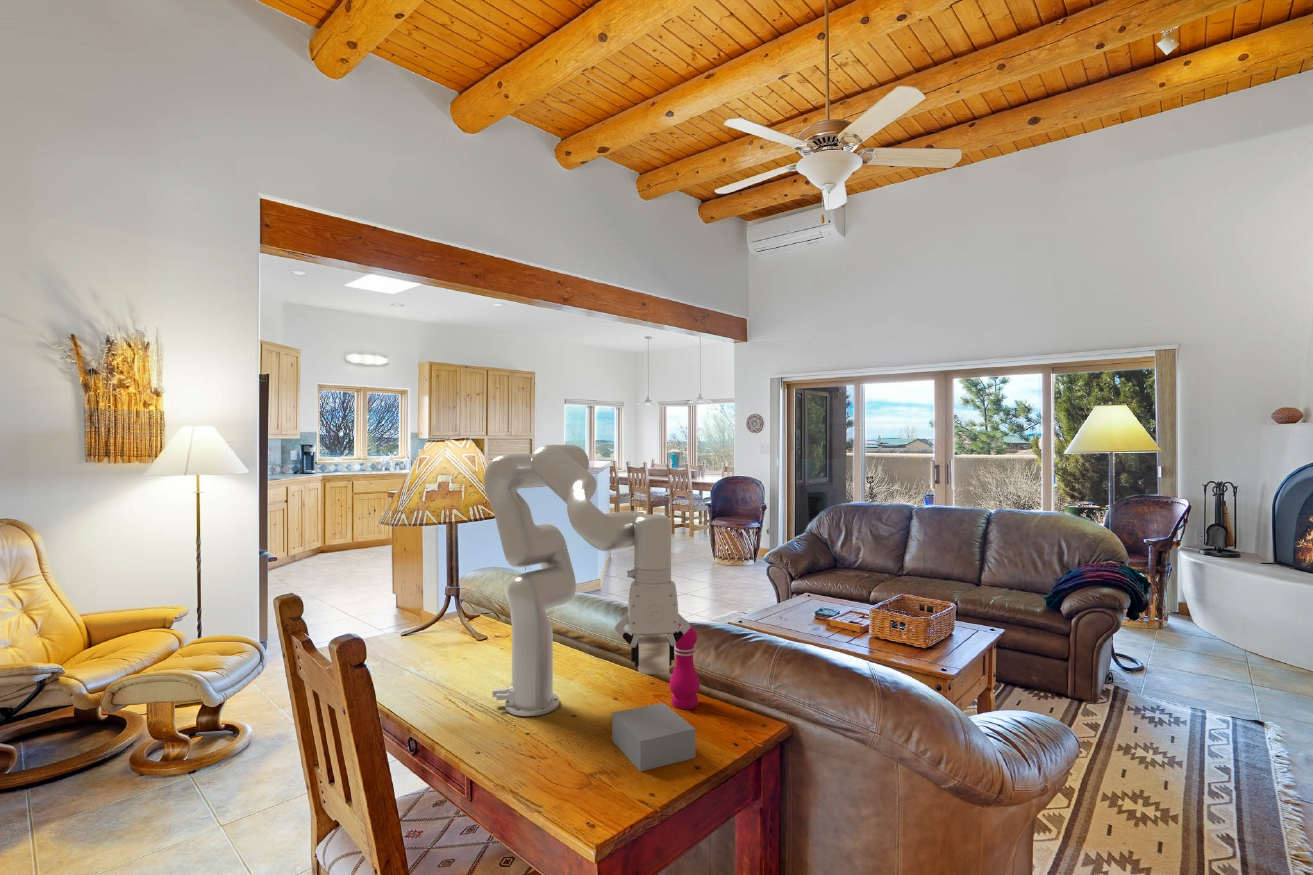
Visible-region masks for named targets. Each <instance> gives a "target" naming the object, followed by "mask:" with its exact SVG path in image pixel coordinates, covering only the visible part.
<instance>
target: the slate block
mask: <svg viewBox="0 0 1313 875" xmlns="http://www.w3.org/2000/svg"><path fill="white" fill-rule="evenodd" d="M611 714H612V715H611V716H612V718H611V720H612V721H611V724H612V726H611V730H612V732H611V733H612V734H611V735H612V736H611V739H612V740H611V741H612V742H613V743H614V745H616V747H617V748H619V750H620V751H621V752H622V753H623V754H624V755H625V757H626V758H627V759H628V760H629V761H630V762H631V763H632V764H633V765H634V766H635V767H636V769H637V770H638V771H639V772H644V771H648V770H652V769H655V768H656V769H657V768H659V767H660V768H661V767H664V766H668V765H673V764H676V763H680V762H683V761H688V760H692V759H695V758H696V728H695V727H694V726H693V725H692V724H691V723H689V722H688V721H687V720H686V719H685V718H683V717H682V716H681V715H679V714H678V713H676V711H675V710H673V708H671V707H670V706H668V705H667V704H666V703H664V702H660V703H655V704H651V705H645V706H640V707H636V708H630V709H625V710H620V711H615V712H612V713H611Z"/></svg>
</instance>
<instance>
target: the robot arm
mask: <svg viewBox="0 0 1313 875" xmlns="http://www.w3.org/2000/svg"><path fill="white" fill-rule="evenodd" d="M589 469H590V459H589V456H588V454H587V453H586V451H585V450H584V449H583V448H582V447H581V446H578V445H575V444H546V445H543V446H541V447H539V448H538V449H536V450H535V451H534V452H533V453H507V454H502V455H499V456H497V457H494V458H493V459H492V460H491V461H490V462H489V463H488V464H487V467H486V469H485V473H484V477H483V480H484V481H483V482H484V483H483V484H484V485H483V486H484V491H485V492H484V493H485V495H486V497H487V500H488V502H489V505H490V507H491V509H492V512H493V514H494V518H495V521H496V522H495V523H496V527H497V530H498V534H499V539H500V542H501V547H502V550H503V554H504V558H505V560H506V563H508V565H509V566H511V567H512V568H527V567H530V566H536V565H540V566H541V569H540V568H539V569H535V570H531V571H530V570H529V571H525V572H524V573H521V574H518V575H517V576H515V577H513V579H511V582H510V583H509V584H508V588H507V595H506V596H507V602H508V606H509V607H508V608H509V611H510V620H511V685H510V686H506V688H493V689H492V698H496V701H503V700H504V701H505V702H504V709H505V710H506V712H507V713H509V714H512V715H514V716H519V717H535V716H541V715H545V714H549V713H551V712H553V711H554V710H556V709H557V708H558V707H559V705H560V697H559V696H558V695H557V694H556V693H554V690H553V689H554V688H553V686H554V685H553V684H554V682H553V678H554V677H553V676H554V675H553V674H554V673H553V671H554V669H553V666H554V663H553V662H554V660H553V658H554V656H553V654H554V652H553V650H554V649H553V648H554V647H553V646H554V642H553V641H554V638H553V636H554V634H553V632H554V631H553V626H552V623H551V621H550V619H549V617H548V616H547V612H546V611H547V610H549V609H551V608H555V607H559V606H561V605H565V604H567V603H569V602H570V601H571V600H573V598H574V597H575V594H576V592H577V582H576V581H577V580H576V576H575V572H574V568H573V567H574V566H573V565H572V561H571V557H570V553H569V549H568V545H567V543H566V539H565V536H564V535H563V533H562V532H561V530H560V529H559V528H558V527H556V526H555V525H552V524H548V523H547V524H546V523H544V524H537V525H536V524H535V522H534V520H533V515H532V511H531V508H530V506H529V504H528V503H527V501H526V500H525V498H524V497H523V496H522V495H521V494H520V493H519V492H518V489H531V488H532V489H533V488H544V487H548V488H550V489H551V491H553V493H555V494H556V496H558V497H559V499H561V500H562V501H563V502H564V503H565V504H566V510H567V511H566V512H567V516H568V520H569V522H570V525H571V527H572V528H573V529H574V530H575V532H576V533H577V534H578V535H579V536H580V537H581V538H582V539H583V540H584V541H585V542H587V544H589V545H590V546H591V547H593V548H595V549H596V550H599V551H602V552H611V551H615V550H619V549H625V548H631V547H633V550H634V552H633V553H634V558H633V560H634V564H633V565H634V566H633V568H632V569H631V570H627V572H626V575H627V576H626V577H627V578H630V579H633V581H632V582H631V583H630V588H629V595H628V603H627V604H628V605H627V613H626V614H625V615H624V616H623V618H622V619H620V620H619V622H618V623H617V624H616V625H615V626H614V630H615V632H616V633H617V634H618V635H620V636H621V637H622V639H624V641H625V642H626V643H627V644H629V645H630V655H631V656H630V659H631V663H634V667H635V668H638V667H639V648H638V640H639V637H640V635H655V634H666V637H667V639H668V641H669V667H672V661H675V653H674V650H675V649H674V647H675V645H676V643H677V642H678V641H679V640H680V638H681V637H682V636H683V635H684V634H685V633H686V632H687V631H688V630H689V629H690V627H691V625H690V623H689V621H688V620H687V619H685V618H684V617H683V616H682V615H681V614H680V613H679V603H678V602H679V600H678V594H677V593H678V592H677V587H676V583H675V581H673V580H672V521H671V519H670V517H669V516H667V515H663V514H656V513H655V514H652V513H651V514H647V513H642V512H640V511H635V510H625V511H617V512H611V513H604V512H603V511H602V510H600V509H599V508H598V507H597V506H596V505H595V504H594V503H592V501H591V499H592V498H593V496H594V494H595V492H596V490H597V486H598V483H597V479H596V478H595V476H594V474H591V473H590V472H589ZM686 620H687V621H688V622H687V621H686ZM626 626H628V630H629V632H630V633H629V632H628V631H627V630H625V627H626ZM679 626H681V627H680V628H679V629H678V627H679ZM673 633H674V634H673Z"/></svg>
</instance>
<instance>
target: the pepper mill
mask: <svg viewBox="0 0 1313 875" xmlns="http://www.w3.org/2000/svg"><path fill="white" fill-rule="evenodd" d="M685 620H686V621H687V622H688V623H689V621H688V620H687V619H685ZM680 627H681V625H679V626H678V629H679V628H680ZM673 634H674V633H673ZM697 642H698V634H697V632H696V630H695V628H693V627H692V626H690V629H689V630H688V631H687V632H686V633H685V634H684V635H683V636H682V637H681V638H680V640H679V641H678V642H677V643H676V645H675V646H674V655H675V665H674V670H673V672H672V674H671V676H670V679H669V685H668V686H669V691H670V692H671V693H672V695H671V703H670V704H671V705H672V706H673V707H674V708H676V709H679V710H680V709H681V710H689V709H693V708H696V707H697V706H698V703H699V702H698V700H699V699H698V698H699V697H698V695H697V693H699V690H700V687H701V685H700V679H699V675H698V674H697V671H696V668H695V666H694V655H695V654H696V647H695V645H696V644H697Z"/></svg>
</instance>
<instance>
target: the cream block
mask: <svg viewBox="0 0 1313 875" xmlns="http://www.w3.org/2000/svg"><path fill="white" fill-rule="evenodd" d="M638 648H639V667H637V670H638V674H639V675H655V674H670V666H669V641H668V637H667V635H666V634H655V635H640V637H639V640H638Z"/></svg>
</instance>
